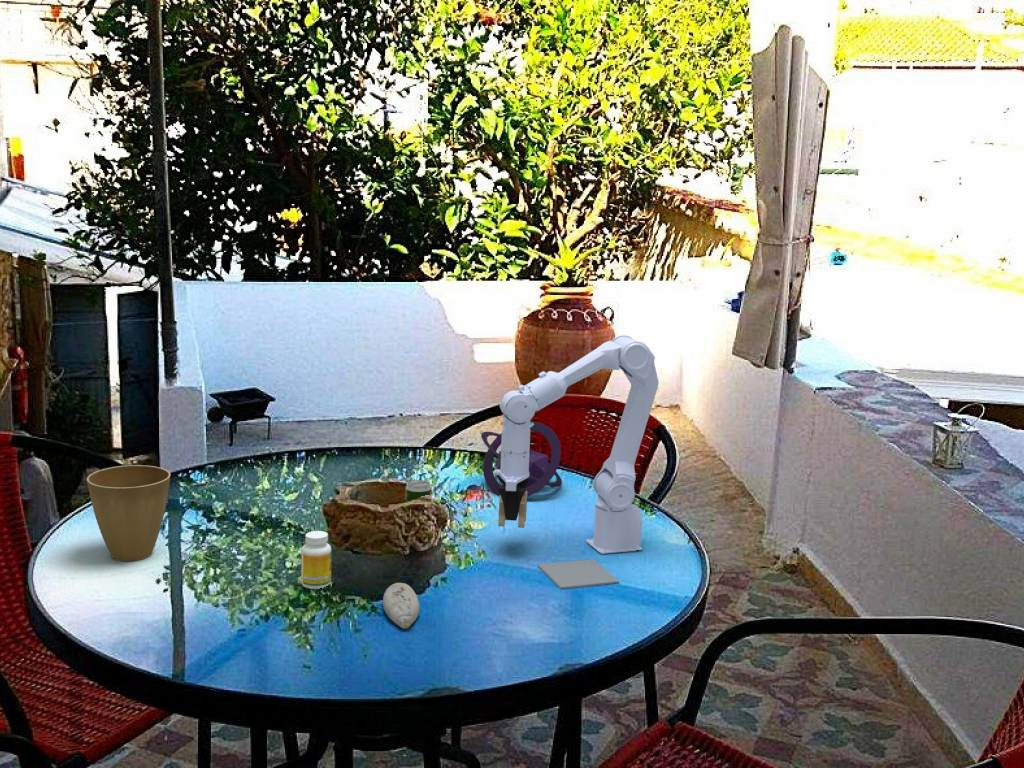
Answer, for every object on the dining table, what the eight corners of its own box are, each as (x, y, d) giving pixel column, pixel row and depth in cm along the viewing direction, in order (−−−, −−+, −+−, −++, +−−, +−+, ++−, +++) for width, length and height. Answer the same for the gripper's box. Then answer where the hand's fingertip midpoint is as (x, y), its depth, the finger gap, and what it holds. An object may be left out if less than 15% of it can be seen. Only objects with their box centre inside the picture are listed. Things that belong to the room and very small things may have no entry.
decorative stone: (388, 634, 163) (389, 614, 162) (378, 597, 178) (378, 579, 177) (425, 631, 164) (426, 612, 164) (412, 595, 179) (412, 577, 178)
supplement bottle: (298, 581, 183) (298, 531, 181) (326, 577, 185) (327, 528, 183) (305, 591, 178) (305, 540, 176) (334, 587, 180) (335, 537, 179)
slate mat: (593, 561, 199) (593, 559, 199) (619, 583, 188) (619, 581, 188) (537, 566, 195) (537, 564, 195) (560, 589, 184) (560, 587, 184)
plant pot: (76, 553, 192) (72, 473, 189) (149, 537, 202) (147, 461, 200) (112, 575, 182) (109, 491, 179) (186, 556, 193) (185, 476, 190)
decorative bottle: (459, 489, 245) (462, 389, 240) (507, 472, 262) (511, 379, 258) (534, 507, 233) (539, 403, 228) (580, 488, 250) (586, 391, 245)
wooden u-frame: (501, 518, 205) (502, 489, 204) (526, 519, 205) (527, 491, 204) (498, 526, 200) (499, 496, 199) (523, 527, 200) (525, 498, 199)
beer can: (411, 544, 204) (413, 488, 202) (399, 536, 209) (401, 481, 207) (434, 540, 207) (436, 485, 205) (422, 532, 212) (423, 478, 210)
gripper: (499, 441, 207) (497, 503, 210) (491, 458, 193) (489, 525, 196) (533, 443, 207) (530, 505, 209) (527, 460, 193) (524, 527, 195)
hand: (512, 515), depth 202 cm, fingers closed on wooden u-frame, 5 cm apart
